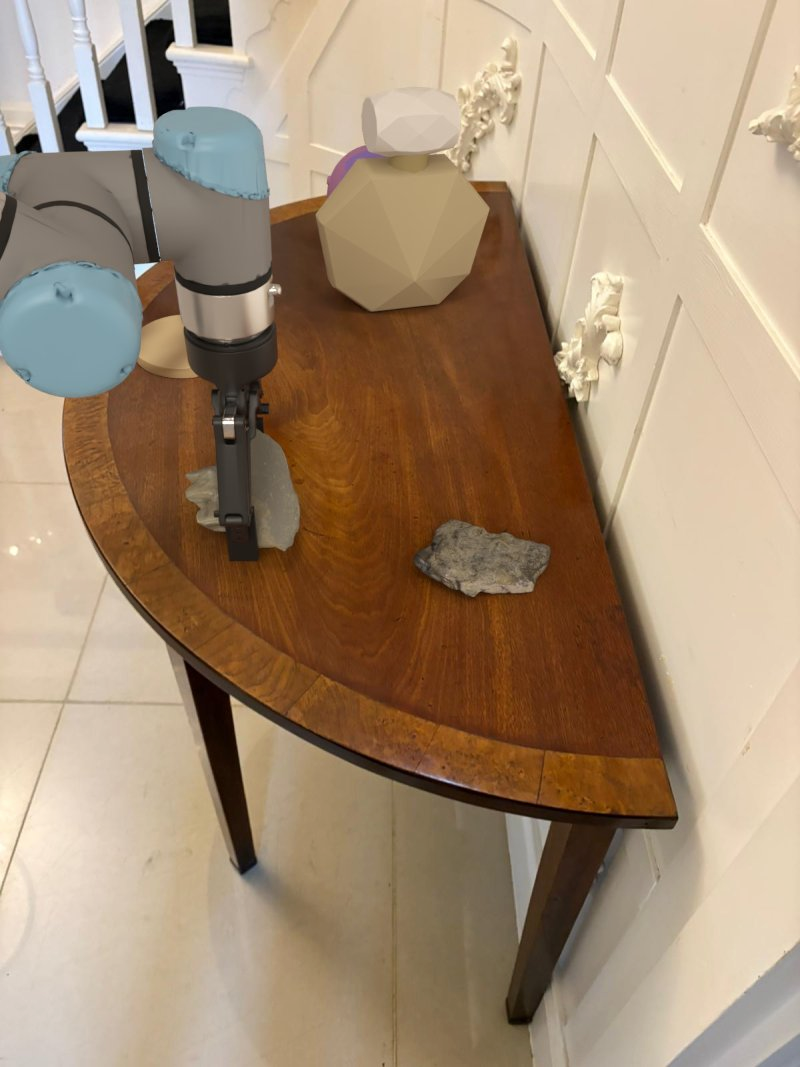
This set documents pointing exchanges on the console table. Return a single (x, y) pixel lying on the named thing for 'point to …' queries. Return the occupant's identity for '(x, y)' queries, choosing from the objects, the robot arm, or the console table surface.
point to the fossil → (255, 495)
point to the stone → (482, 560)
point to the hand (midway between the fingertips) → (249, 511)
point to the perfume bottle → (403, 206)
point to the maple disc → (165, 348)
